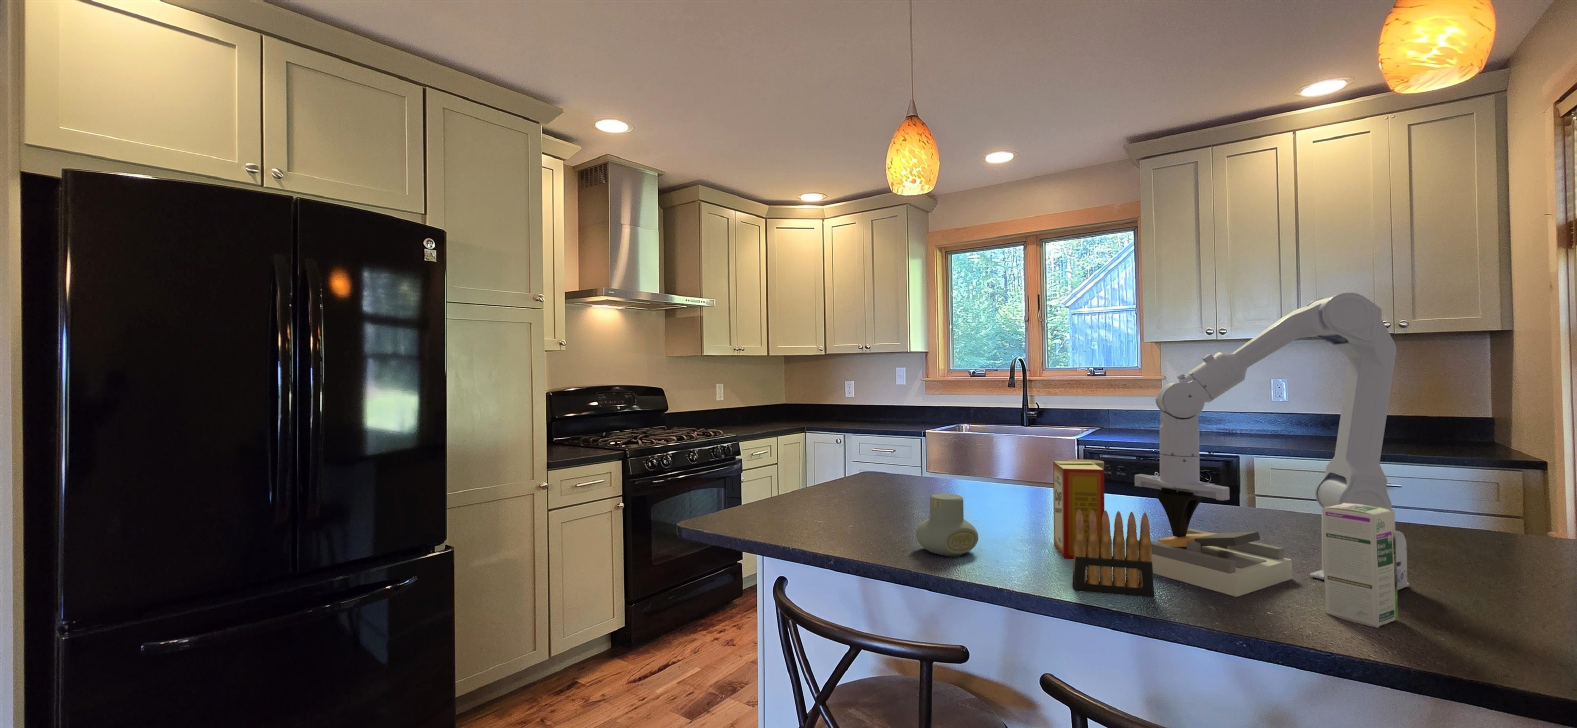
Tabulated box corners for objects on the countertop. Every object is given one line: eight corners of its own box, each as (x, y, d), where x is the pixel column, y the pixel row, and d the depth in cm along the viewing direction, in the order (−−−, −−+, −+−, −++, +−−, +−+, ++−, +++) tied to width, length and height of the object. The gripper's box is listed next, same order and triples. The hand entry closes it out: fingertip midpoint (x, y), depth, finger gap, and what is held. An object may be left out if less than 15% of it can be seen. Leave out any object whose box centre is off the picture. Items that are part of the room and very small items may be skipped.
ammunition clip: (1151, 593, 95) (1150, 511, 95) (1154, 597, 93) (1153, 514, 93) (1072, 586, 98) (1071, 507, 98) (1074, 590, 96) (1073, 509, 96)
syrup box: (1378, 628, 81) (1377, 513, 81) (1322, 613, 87) (1321, 504, 87) (1399, 620, 84) (1397, 508, 84) (1343, 605, 89) (1342, 500, 89)
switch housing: (1292, 578, 101) (1291, 543, 101) (1236, 596, 93) (1236, 558, 93) (1186, 553, 115) (1186, 522, 115) (1131, 566, 107) (1130, 533, 107)
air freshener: (956, 542, 122) (956, 489, 123) (986, 554, 115) (986, 497, 115) (908, 549, 118) (907, 494, 118) (935, 561, 111) (935, 503, 111)
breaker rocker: (1260, 539, 100) (1258, 531, 101) (1236, 545, 97) (1233, 537, 97) (1184, 541, 111) (1182, 534, 111) (1159, 546, 107) (1158, 539, 108)
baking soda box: (1104, 561, 110) (1104, 467, 110) (1064, 558, 112) (1063, 466, 112) (1091, 546, 120) (1090, 459, 120) (1053, 544, 121) (1053, 458, 121)
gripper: (1123, 450, 112) (1123, 529, 112) (1211, 461, 100) (1212, 549, 100) (1148, 448, 116) (1148, 524, 116) (1236, 458, 103) (1236, 543, 103)
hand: (1179, 535), depth 108 cm, fingers closed
